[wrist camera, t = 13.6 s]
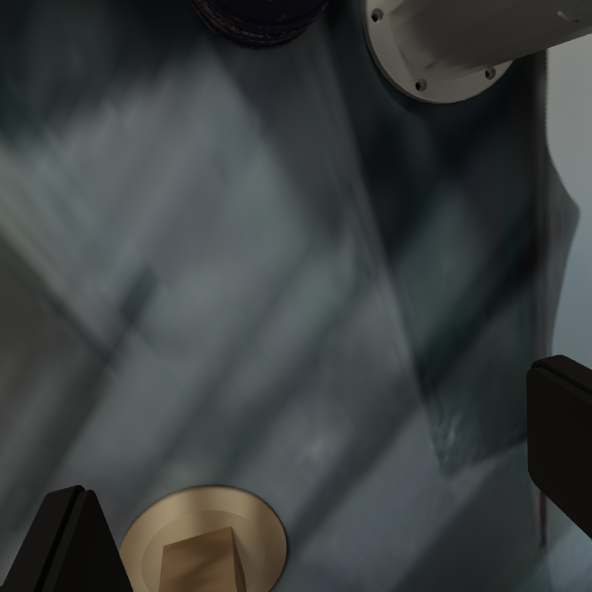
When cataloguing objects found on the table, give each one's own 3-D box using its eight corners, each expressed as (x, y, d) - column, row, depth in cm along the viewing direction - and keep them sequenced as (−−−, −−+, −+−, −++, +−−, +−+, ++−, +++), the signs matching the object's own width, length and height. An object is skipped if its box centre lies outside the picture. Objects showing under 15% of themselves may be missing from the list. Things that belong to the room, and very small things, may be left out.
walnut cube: (231, 525, 40) (235, 585, 34) (244, 575, 42) (251, 639, 36) (163, 545, 39) (156, 610, 33) (180, 595, 41) (177, 664, 35)
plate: (268, 465, 40) (270, 471, 39) (297, 588, 45) (299, 596, 44) (96, 513, 38) (93, 521, 37) (145, 637, 43) (144, 646, 42)
